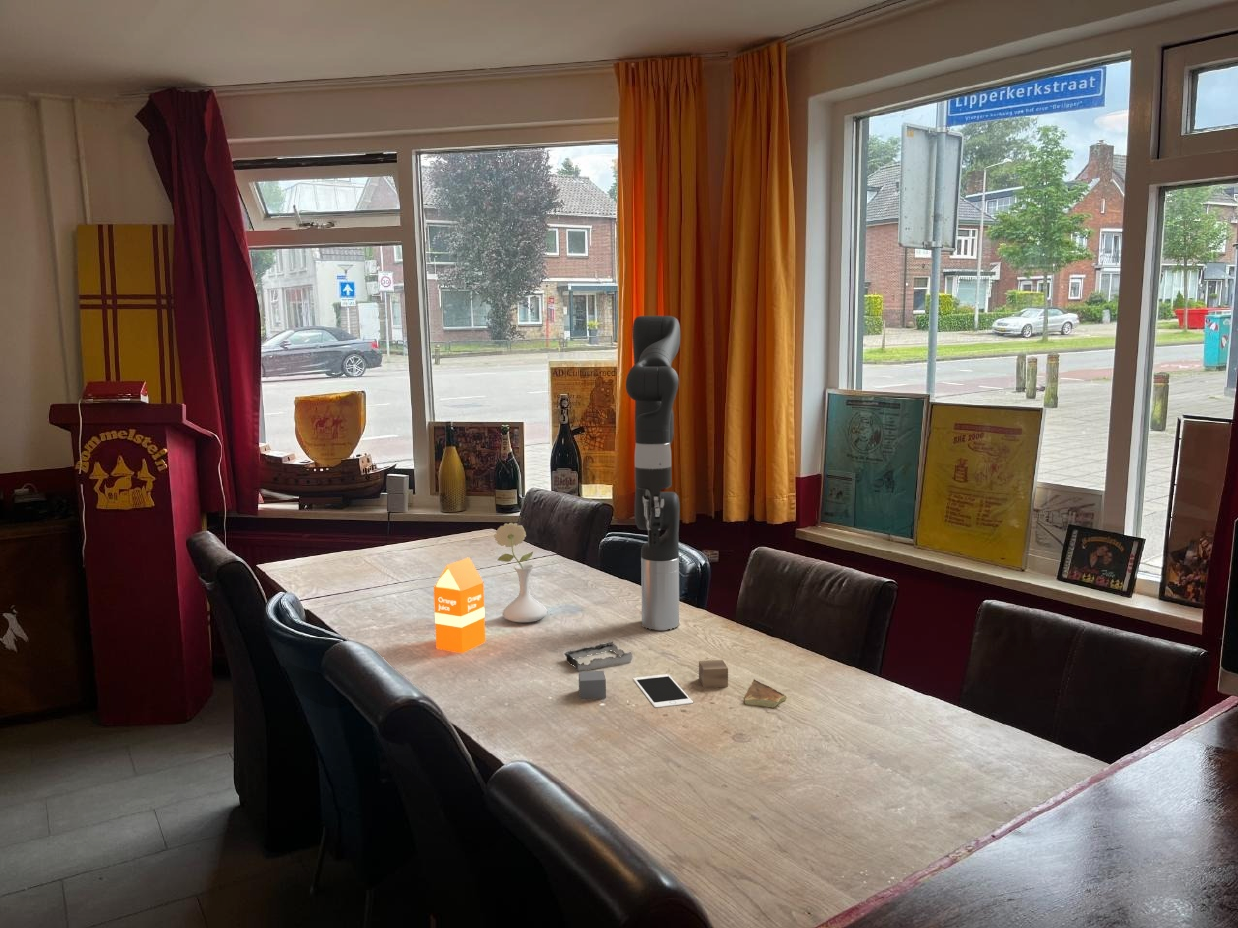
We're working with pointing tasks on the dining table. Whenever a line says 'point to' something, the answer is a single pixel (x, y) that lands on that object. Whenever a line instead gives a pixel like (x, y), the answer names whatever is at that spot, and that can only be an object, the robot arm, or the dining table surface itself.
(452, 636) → the orange juice
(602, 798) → the dining table surface
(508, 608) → the flower in vase
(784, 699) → the shard
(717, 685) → the walnut block
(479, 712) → the dining table surface
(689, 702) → the cell phone
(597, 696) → the charcoal block
